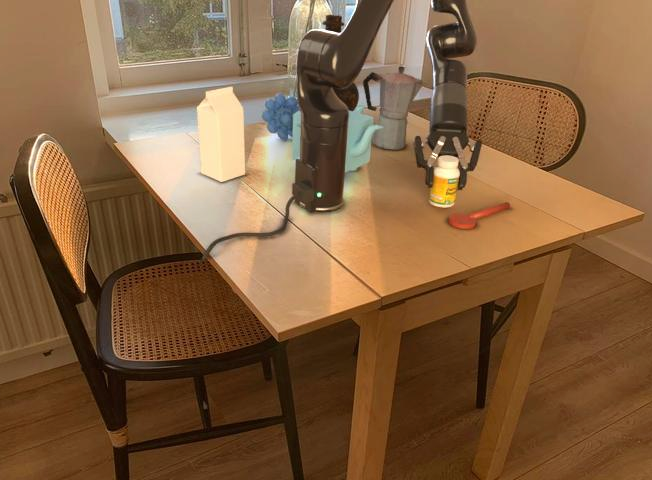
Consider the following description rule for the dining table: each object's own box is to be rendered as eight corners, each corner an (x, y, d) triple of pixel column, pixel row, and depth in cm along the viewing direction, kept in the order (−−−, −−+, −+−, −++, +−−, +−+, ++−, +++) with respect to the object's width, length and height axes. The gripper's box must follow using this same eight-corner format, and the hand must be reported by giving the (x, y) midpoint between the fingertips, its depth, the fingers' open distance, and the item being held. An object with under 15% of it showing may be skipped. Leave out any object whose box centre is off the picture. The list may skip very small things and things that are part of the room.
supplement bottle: (438, 195, 124) (445, 151, 119) (459, 203, 121) (467, 159, 116) (423, 202, 121) (429, 157, 116) (444, 210, 118) (452, 165, 112)
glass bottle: (291, 110, 178) (293, 9, 163) (347, 108, 182) (354, 10, 167) (304, 128, 163) (307, 19, 148) (364, 126, 167) (374, 20, 152)
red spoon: (498, 203, 125) (500, 197, 124) (518, 212, 122) (519, 206, 121) (443, 221, 117) (444, 214, 116) (462, 231, 113) (464, 224, 112)
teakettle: (289, 154, 145) (290, 94, 137) (363, 154, 147) (369, 95, 139) (295, 184, 129) (296, 118, 121) (378, 184, 131) (384, 119, 123)
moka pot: (418, 152, 150) (429, 72, 140) (358, 149, 150) (365, 69, 139) (414, 140, 158) (424, 63, 148) (357, 137, 158) (363, 60, 147)
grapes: (265, 145, 150) (265, 98, 143) (260, 137, 155) (260, 91, 149) (309, 143, 153) (310, 97, 146) (303, 135, 158) (304, 90, 152)
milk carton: (245, 175, 133) (243, 89, 123) (221, 183, 128) (216, 95, 118) (225, 166, 137) (221, 83, 127) (201, 173, 132) (195, 88, 122)
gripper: (416, 99, 117) (412, 178, 114) (488, 103, 117) (486, 183, 113) (411, 117, 125) (407, 192, 121) (479, 121, 124) (477, 196, 120)
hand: (445, 187), depth 117 cm, fingers closed on supplement bottle, 5 cm apart
